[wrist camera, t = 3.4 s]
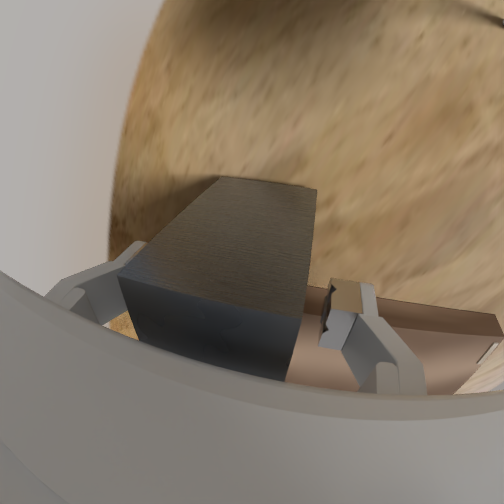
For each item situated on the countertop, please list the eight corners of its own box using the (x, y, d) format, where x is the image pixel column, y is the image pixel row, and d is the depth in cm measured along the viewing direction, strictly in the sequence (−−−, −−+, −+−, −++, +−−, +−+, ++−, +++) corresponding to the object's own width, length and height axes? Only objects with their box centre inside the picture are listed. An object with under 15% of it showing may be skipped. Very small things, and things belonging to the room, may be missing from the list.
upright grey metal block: (221, 176, 11) (116, 274, 5) (317, 189, 10) (301, 319, 5) (224, 337, 17) (183, 432, 11) (285, 351, 16) (259, 453, 11)
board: (199, 264, 15) (183, 288, 13) (494, 314, 11) (505, 338, 10) (211, 376, 21) (203, 396, 20) (416, 405, 18) (417, 425, 16)
